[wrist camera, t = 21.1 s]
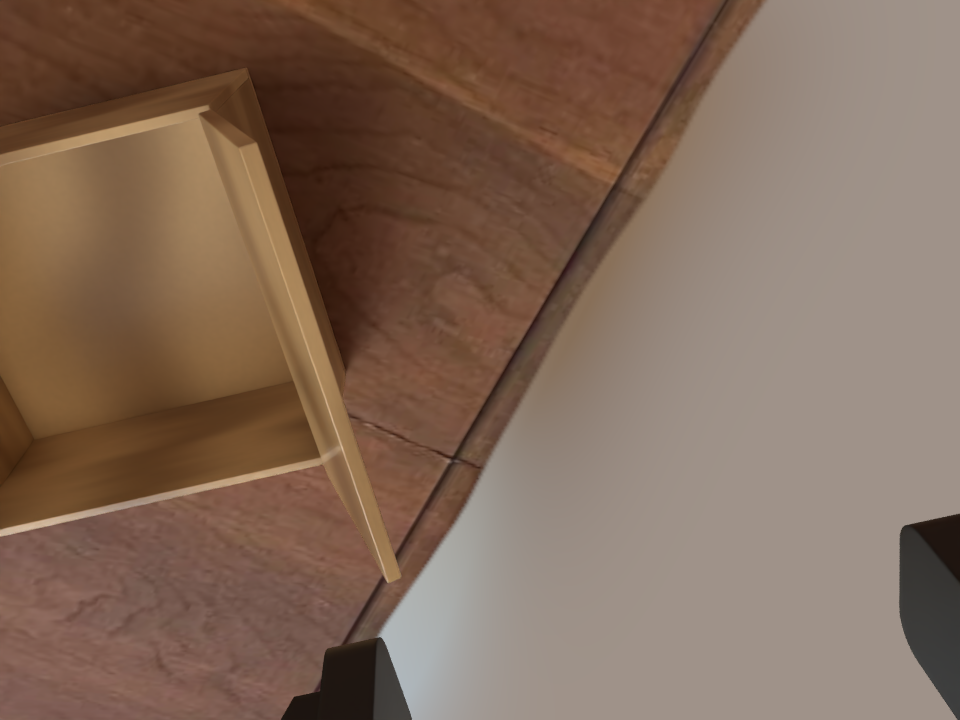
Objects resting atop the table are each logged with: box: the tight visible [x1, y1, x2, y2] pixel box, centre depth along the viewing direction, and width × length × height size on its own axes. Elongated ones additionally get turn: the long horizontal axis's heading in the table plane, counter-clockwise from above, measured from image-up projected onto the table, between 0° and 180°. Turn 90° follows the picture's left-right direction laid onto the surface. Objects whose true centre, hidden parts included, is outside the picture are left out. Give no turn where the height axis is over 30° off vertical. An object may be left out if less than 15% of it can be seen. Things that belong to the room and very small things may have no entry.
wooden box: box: [0, 68, 346, 537], centre depth 29 cm, size 13×12×6 cm
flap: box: [198, 110, 401, 583], centre depth 23 cm, size 6×12×1 cm
